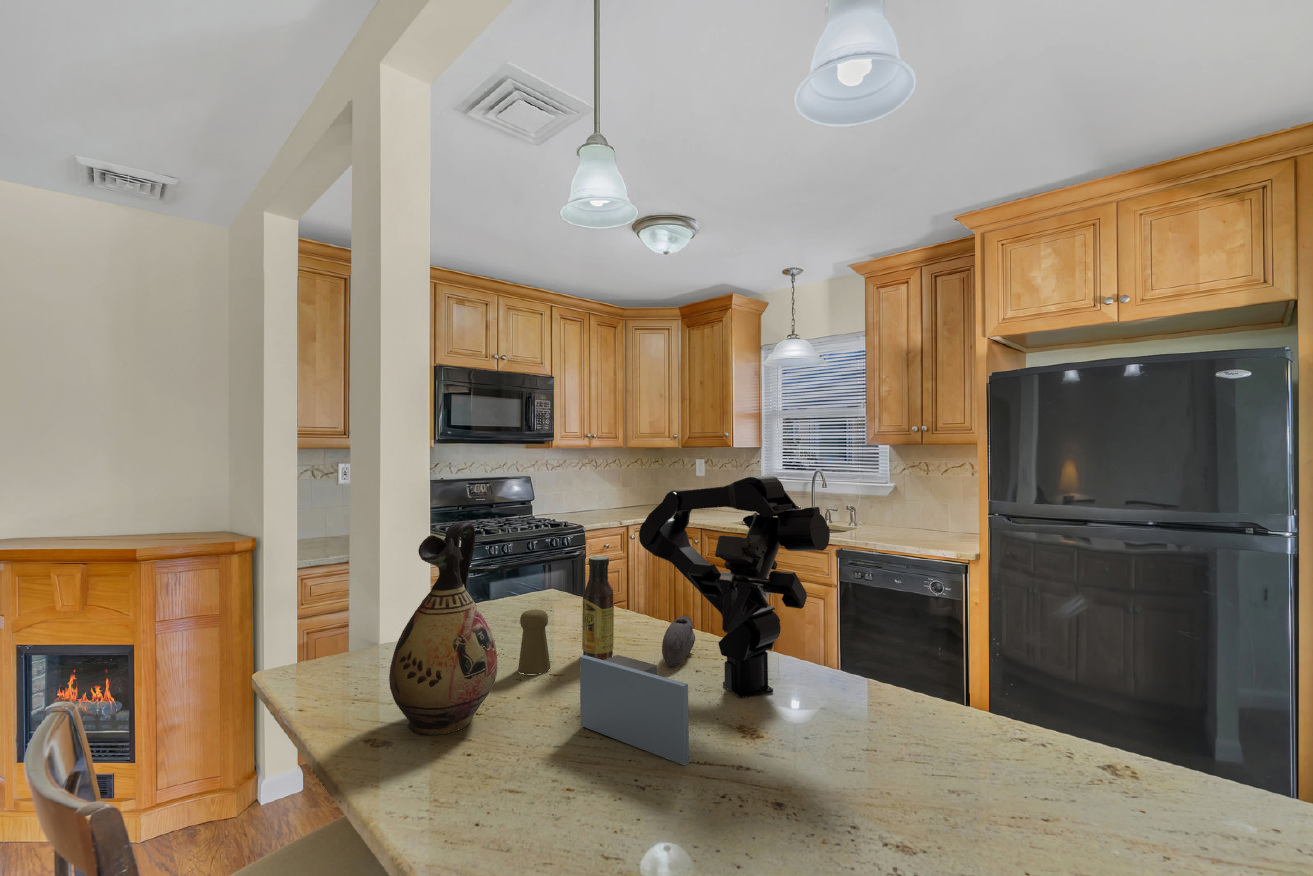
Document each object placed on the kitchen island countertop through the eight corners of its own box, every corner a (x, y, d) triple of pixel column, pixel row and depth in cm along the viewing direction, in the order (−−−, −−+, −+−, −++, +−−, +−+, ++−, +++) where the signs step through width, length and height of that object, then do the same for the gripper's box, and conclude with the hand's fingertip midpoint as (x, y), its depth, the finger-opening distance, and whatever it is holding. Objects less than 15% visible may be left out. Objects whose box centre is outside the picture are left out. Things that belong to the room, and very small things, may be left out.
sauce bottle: (578, 655, 123) (577, 555, 123) (607, 650, 125) (606, 553, 126) (588, 665, 117) (587, 560, 118) (619, 660, 120) (618, 558, 120)
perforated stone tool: (679, 674, 112) (679, 635, 112) (652, 671, 113) (651, 633, 114) (699, 649, 126) (698, 615, 126) (674, 647, 128) (674, 613, 128)
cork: (511, 672, 113) (510, 612, 114) (532, 662, 119) (531, 605, 119) (536, 677, 111) (536, 616, 111) (557, 667, 116) (556, 608, 116)
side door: (585, 723, 91) (584, 655, 91) (689, 762, 79) (688, 683, 79) (580, 725, 90) (579, 656, 90) (684, 765, 78) (683, 686, 78)
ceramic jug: (466, 750, 83) (465, 529, 84) (366, 741, 86) (366, 528, 87) (518, 701, 100) (517, 517, 101) (433, 695, 103) (433, 516, 104)
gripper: (692, 513, 102) (652, 592, 93) (795, 518, 90) (760, 608, 81) (719, 555, 107) (684, 633, 98) (820, 564, 96) (790, 653, 87)
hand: (725, 631), depth 91 cm, fingers closed
